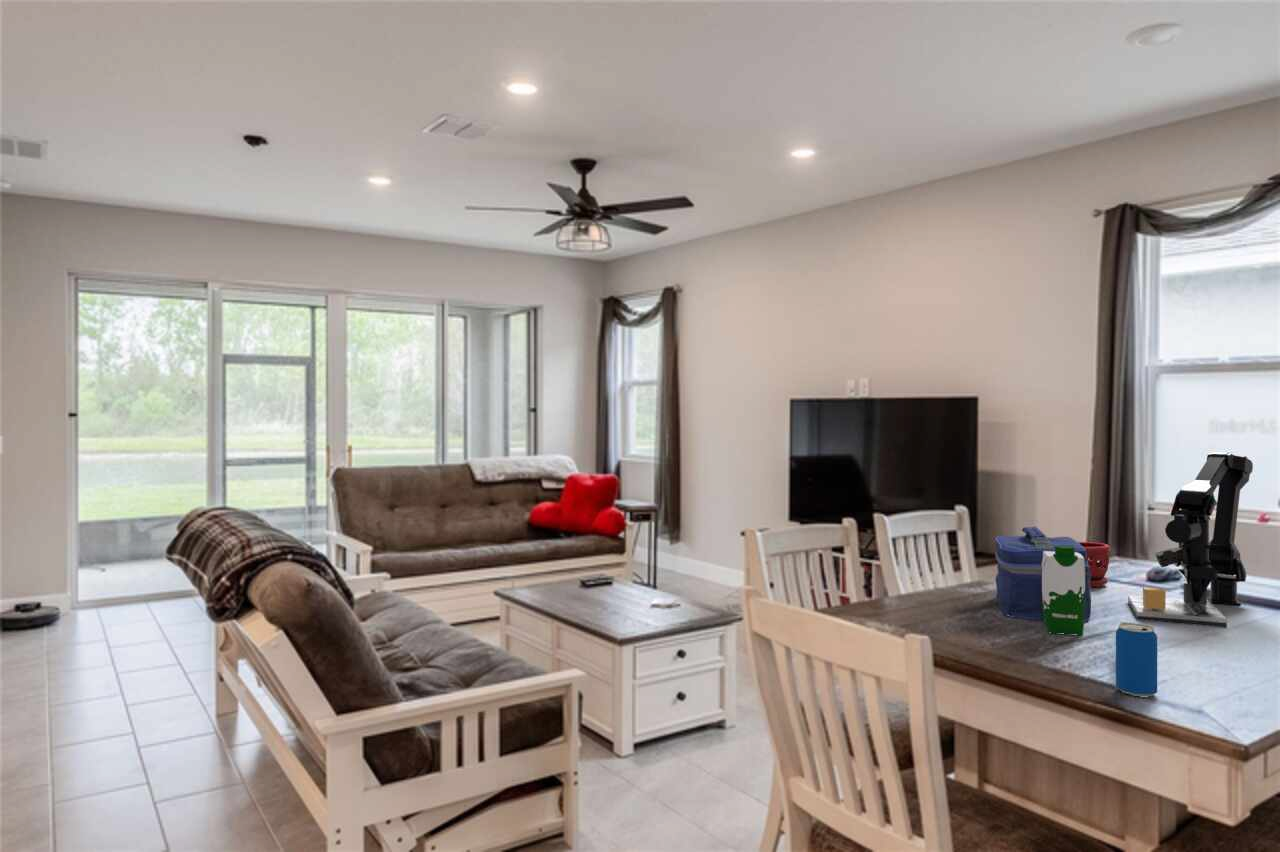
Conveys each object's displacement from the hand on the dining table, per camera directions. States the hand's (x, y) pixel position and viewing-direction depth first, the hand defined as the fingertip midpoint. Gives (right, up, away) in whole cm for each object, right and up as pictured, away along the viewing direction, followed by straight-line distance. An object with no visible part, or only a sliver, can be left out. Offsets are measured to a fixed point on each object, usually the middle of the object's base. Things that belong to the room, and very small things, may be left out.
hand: (1195, 600), depth 208 cm
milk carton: (-42, -4, -16) cm, 45 cm away
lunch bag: (-36, -4, +6) cm, 37 cm away
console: (-6, -3, -1) cm, 7 cm away
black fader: (0, -2, 0) cm, 2 cm away
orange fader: (-13, -2, -4) cm, 14 cm away
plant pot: (-9, -3, +35) cm, 36 cm away
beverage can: (-50, -5, -58) cm, 77 cm away
